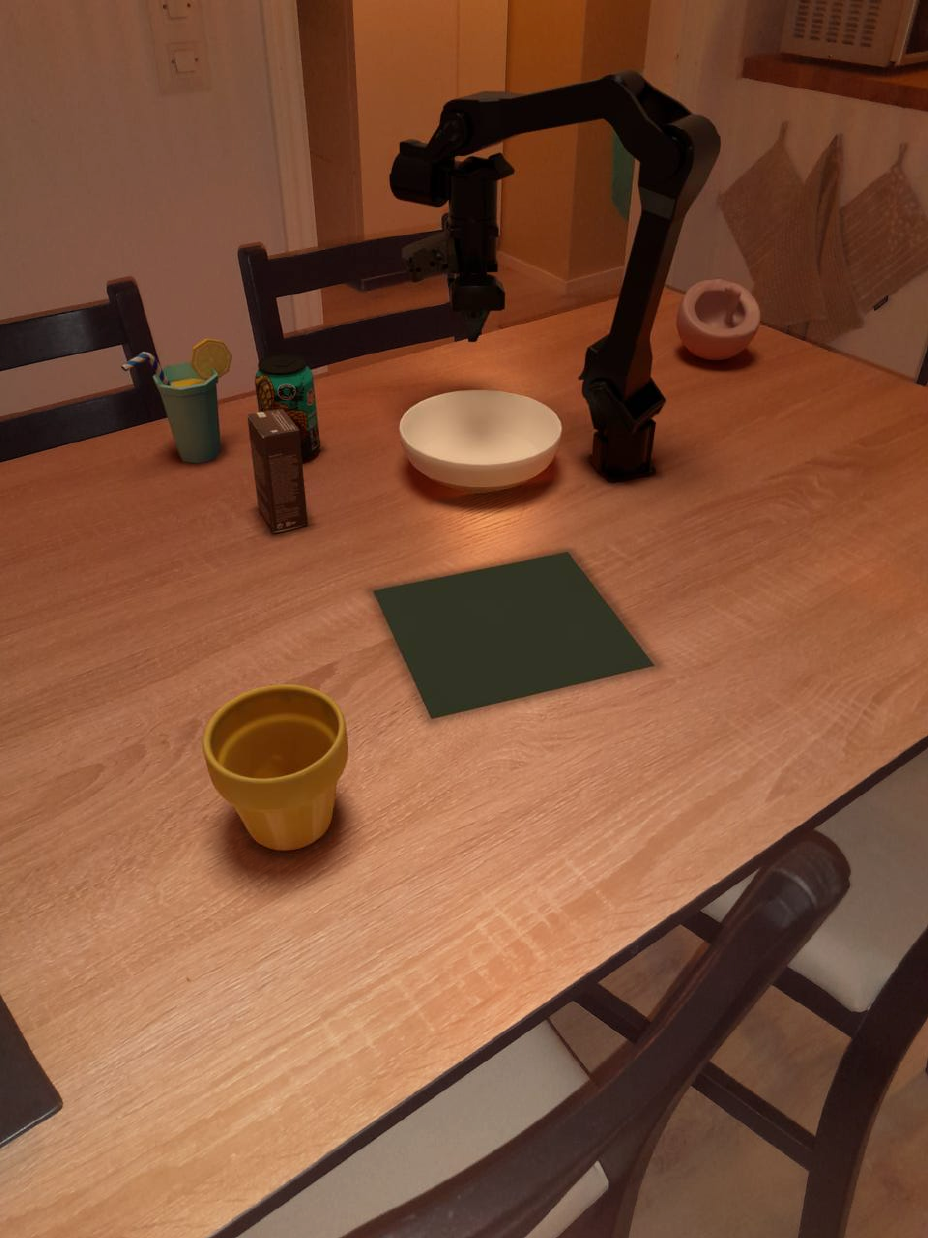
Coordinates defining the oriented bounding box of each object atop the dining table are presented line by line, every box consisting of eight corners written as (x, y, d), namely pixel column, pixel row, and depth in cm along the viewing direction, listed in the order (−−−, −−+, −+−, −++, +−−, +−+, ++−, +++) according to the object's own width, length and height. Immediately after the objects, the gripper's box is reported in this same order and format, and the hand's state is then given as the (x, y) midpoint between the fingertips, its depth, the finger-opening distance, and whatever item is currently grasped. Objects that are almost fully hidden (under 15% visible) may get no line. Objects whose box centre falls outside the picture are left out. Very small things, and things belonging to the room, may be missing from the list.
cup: (166, 487, 116) (140, 369, 107) (129, 466, 120) (101, 351, 111) (257, 445, 124) (240, 332, 115) (219, 427, 128) (200, 316, 119)
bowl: (444, 527, 109) (444, 480, 106) (376, 453, 123) (373, 408, 119) (589, 487, 116) (593, 441, 113) (509, 420, 130) (511, 377, 126)
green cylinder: (254, 459, 122) (241, 369, 114) (282, 434, 127) (271, 347, 119) (303, 469, 120) (293, 378, 112) (330, 444, 125) (322, 356, 117)
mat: (567, 552, 106) (567, 551, 106) (654, 666, 91) (654, 665, 91) (373, 591, 100) (372, 590, 100) (431, 719, 85) (431, 718, 85)
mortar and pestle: (689, 376, 141) (701, 298, 134) (659, 344, 151) (669, 270, 143) (765, 369, 143) (781, 292, 136) (731, 338, 152) (745, 265, 145)
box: (311, 525, 110) (300, 428, 102) (272, 534, 108) (259, 437, 101) (294, 500, 114) (283, 406, 107) (257, 508, 112) (243, 414, 105)
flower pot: (229, 773, 80) (210, 685, 74) (355, 765, 81) (346, 677, 75) (215, 876, 72) (192, 787, 66) (354, 866, 73) (344, 777, 67)
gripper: (402, 193, 121) (407, 315, 131) (406, 239, 106) (411, 373, 116) (491, 191, 122) (489, 313, 131) (507, 237, 107) (503, 370, 117)
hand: (472, 340), depth 124 cm, fingers closed
